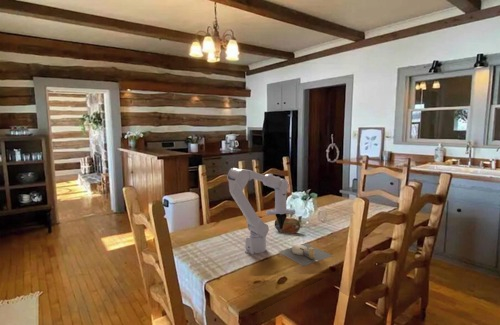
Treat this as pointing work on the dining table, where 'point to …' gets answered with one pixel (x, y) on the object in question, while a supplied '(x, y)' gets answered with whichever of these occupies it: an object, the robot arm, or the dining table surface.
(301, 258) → the stand plate
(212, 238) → the dining table surface
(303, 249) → the cam dial
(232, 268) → the dining table surface
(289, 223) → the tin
